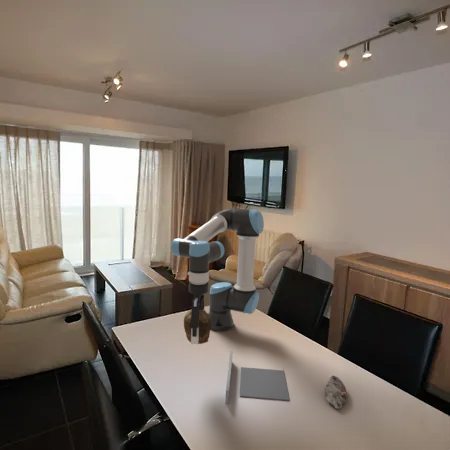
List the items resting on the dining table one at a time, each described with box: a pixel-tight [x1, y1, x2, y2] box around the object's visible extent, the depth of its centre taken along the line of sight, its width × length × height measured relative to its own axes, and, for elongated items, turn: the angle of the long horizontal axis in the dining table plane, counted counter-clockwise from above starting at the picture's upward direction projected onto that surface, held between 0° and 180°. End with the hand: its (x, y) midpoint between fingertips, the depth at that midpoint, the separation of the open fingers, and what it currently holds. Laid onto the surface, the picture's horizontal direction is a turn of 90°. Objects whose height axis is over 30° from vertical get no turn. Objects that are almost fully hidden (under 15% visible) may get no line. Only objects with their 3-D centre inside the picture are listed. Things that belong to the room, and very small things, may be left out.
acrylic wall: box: [225, 351, 233, 405], centre depth 123 cm, size 26×1×5 cm, turn 176°
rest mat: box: [239, 366, 290, 401], centre depth 122 cm, size 18×18×1 cm
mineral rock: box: [324, 375, 349, 409], centre depth 115 cm, size 15×8×4 cm, turn 147°
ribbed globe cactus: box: [183, 309, 212, 345], centre depth 121 cm, size 11×11×12 cm
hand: (197, 335), depth 121 cm, fingers closed on ribbed globe cactus, 11 cm apart
